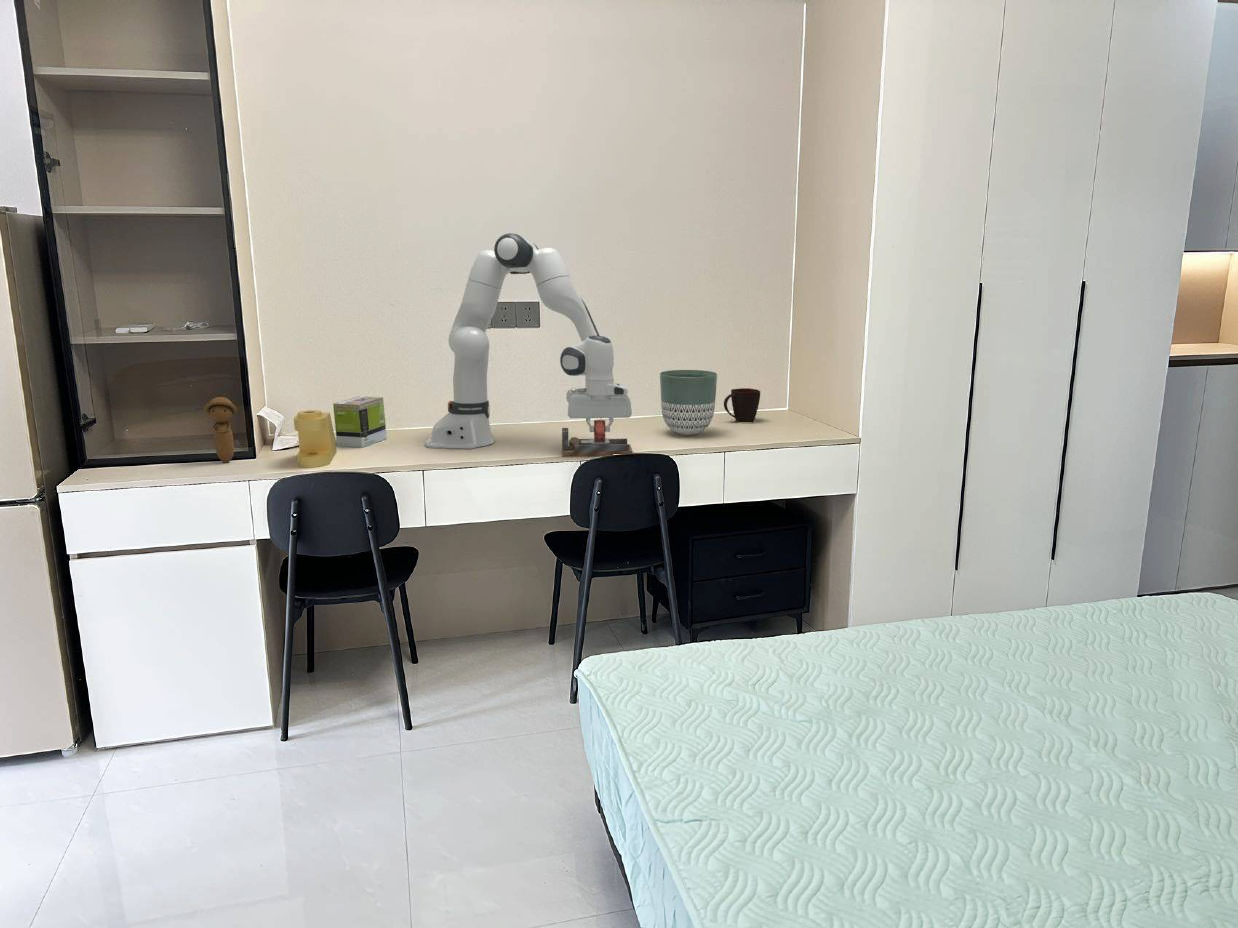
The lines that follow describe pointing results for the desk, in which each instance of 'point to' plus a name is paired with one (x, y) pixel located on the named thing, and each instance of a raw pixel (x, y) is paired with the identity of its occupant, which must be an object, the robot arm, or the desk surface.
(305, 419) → the clamp
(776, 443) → the desk surface
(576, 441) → the walnut ball
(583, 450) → the press bed
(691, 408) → the planter
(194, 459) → the desk surface
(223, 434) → the figurine
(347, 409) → the tea box
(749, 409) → the cup
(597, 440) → the ram
